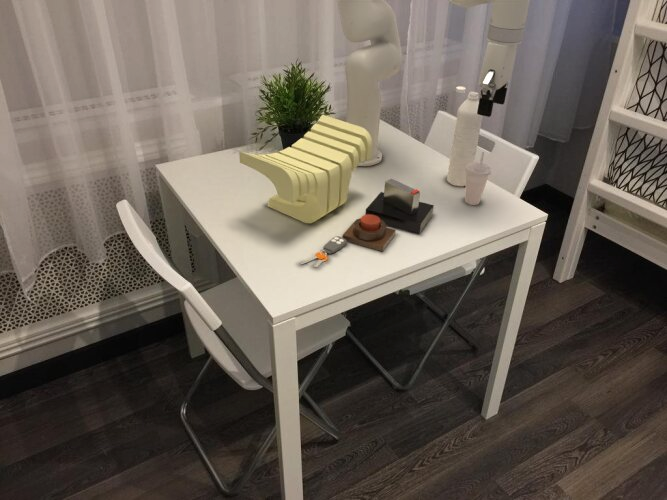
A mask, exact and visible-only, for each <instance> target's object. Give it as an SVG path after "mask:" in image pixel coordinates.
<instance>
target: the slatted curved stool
mask: <svg viewBox="0 0 667 500" xmlns="http://www.w3.org/2000/svg"><path fill="white" fill-rule="evenodd" d="M238 152H239V153H238V155H239V163H240V164H241V165H245V166H247V167H248V168H251V169H252V170H255V171H257V172H258V173H260V174H262V176H264V177H266V178H267V179H268V180H269V181H270V182H271V183H272V184H273V186H274V188H275V190H276V192H277V193H276V194H274V195H273V196H271V197H269V200H268V203H267V207H268V208H271V209H273V210H275V211H277V212H280V213H282V214H285V215H287V216H289V217H291V218H293V219H296V220H298V221H300V222H302V223H304V224H313V223H314V222H317V221H319V220H320V219H322V218H323V217H325V216H326V215H327V214H330V213H332V211H335V210H336V209H338V208H339V207H341V206H342V205H344V204H345V203H346V202H347V200H348V193H349V187H350V183H351V179H352V172H354V171H356V169H357V167H359V166H358V163H362V162H363V161H365V159H366V160H368V159H371V156H372V139H371V136H370V134H369V133H368V131H367V130H365V129H364V128H362V127H360V126H356V125H353V124H350V123H347V122H346V121H344V120H341V119H337V118H334V117H331V116H328V115H325V114H321V116H319V118H318V120H317V123H314V124H313V126H312V127H311V128H310V130H308V131H307V132H306V133H305V134H304V135H303V137H301V138H300V139H298V140H297V141H296V142H294V143H293V144H291V147H290V146H288V147H286V148H284V149H281V150H280V151H278V152H273V153H266V154H254V153H247V152H244V151H240V150H239V151H238Z"/></svg>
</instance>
